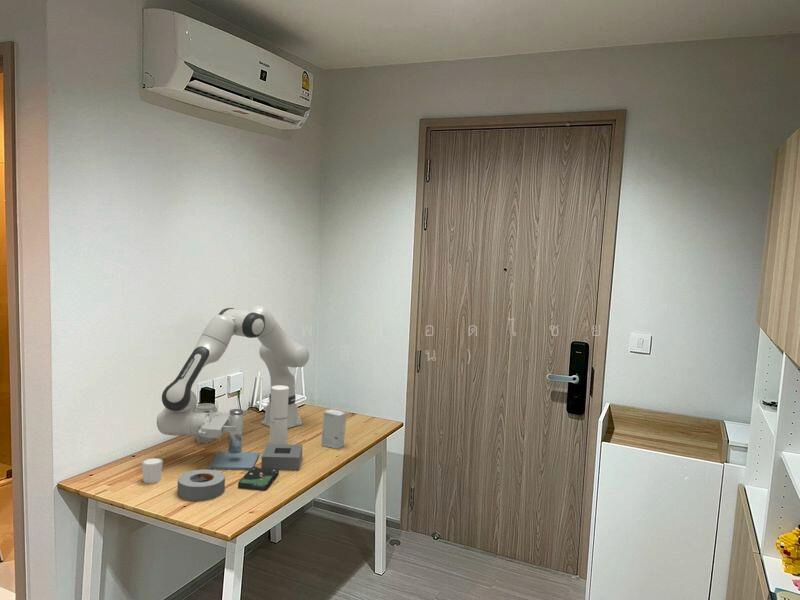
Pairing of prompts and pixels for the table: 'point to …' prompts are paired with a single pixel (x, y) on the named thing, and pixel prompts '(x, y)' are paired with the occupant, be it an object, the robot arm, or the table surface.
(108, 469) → the table surface
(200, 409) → the coffee cup
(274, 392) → the cylindrical container
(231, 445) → the metal plug
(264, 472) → the disk drive
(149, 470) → the light grey cylinder
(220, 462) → the rubber mat
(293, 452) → the block
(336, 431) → the skincare box
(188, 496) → the tape roll
